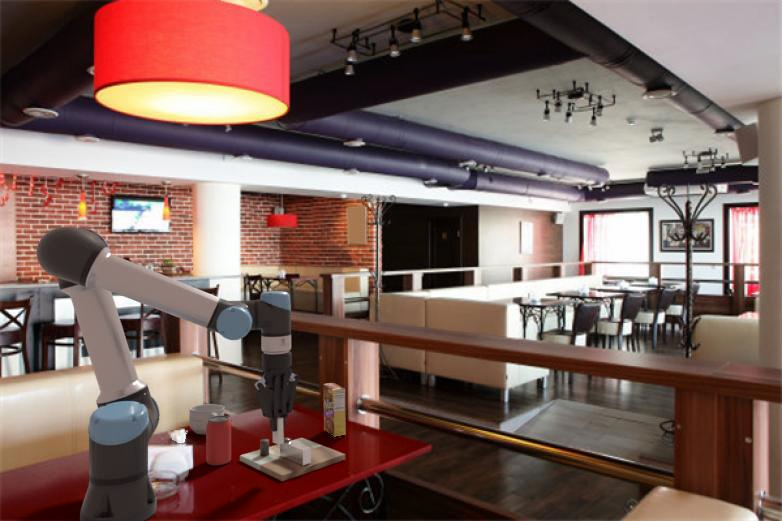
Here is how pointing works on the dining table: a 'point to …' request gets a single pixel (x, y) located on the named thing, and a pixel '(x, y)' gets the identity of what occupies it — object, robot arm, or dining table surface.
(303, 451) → the bar
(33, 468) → the dining table surface
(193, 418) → the teacup
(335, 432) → the candy box
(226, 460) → the beer can
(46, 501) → the dining table surface
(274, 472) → the board
